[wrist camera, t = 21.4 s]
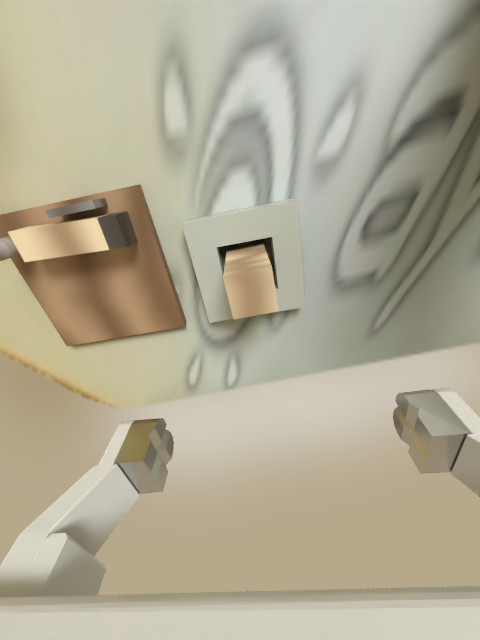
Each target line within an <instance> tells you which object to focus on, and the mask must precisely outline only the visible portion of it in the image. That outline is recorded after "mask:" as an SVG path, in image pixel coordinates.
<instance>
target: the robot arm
mask: <svg viewBox="0 0 480 640" xmlns="http://www.w3.org/2000/svg"><path fill="white" fill-rule="evenodd" d="M396 402H397V404H398V407H397V408H396V409H395V410H394V415H393V420H394V425H395V428H396V430H397V433H398V434H399V436H400V438H401V440H403V441H404V442H406V443H407V444H409V445H410V448H409V454H410V456H411V458H412V459H413V461H414V463H415V465H416V466H417V468H418V470H419V472H420V473H437V472H438V473H440V472H451V474H452V475H453V476H454V477H456V478H457V479H458V480H460V481H461V482H462V483H463V484H464V485H466V486H467V487H468V488H469V489H471V490H472V491H473V492H474V493H476V494H477V495H478V496H479V497H480V418H479V417H478V416H477V415H476V413H475V412H474V411H473V410H472V409H471V408H470V407H469V406H468V405H467V404H466V403H465V402H464V401H463V400H462V398H461V397H460V396H459V395H458V394H457V393H456V392H455V391H454V390H452V389H451V388H443V389H433V390H422V391H414V392H405V393H399V394H398V395H397V397H396ZM165 427H166V423H165V421H164V419H163V418H161V419H148V420H135V421H125V422H124V421H123V422H121V423H120V424H119V425H118V427H117V429H116V431H115V433H114V435H113V437H112V439H111V441H110V443H109V445H108V447H107V449H106V451H105V453H104V455H103V457H102V459H101V461H100V463H99V465H98V466H94V467H93V468H91V469H90V470H89V471H88V472H87V473H86V474H85V475H84V476H83V477H82V478H80V479H79V480H78V481H77V482H76V483H75V484H74V485H73V486H72V487H71V488H70V489H68V490H67V491H66V492H65V493H64V494H63V495H62V496H61V497H60V498H59V499H58V500H56V501H55V502H54V503H53V504H52V505H51V506H50V507H49V508H48V509H47V510H46V511H44V512H43V513H42V514H41V515H40V516H39V517H38V518H37V519H36V520H35V521H34V522H33V523H31V524H30V525H29V526H28V527H27V528H26V529H25V530H24V531H23V532H21V534H20V535H19V537H18V538H17V540H16V541H15V543H14V545H13V546H12V548H11V549H10V551H9V553H8V554H7V556H6V558H5V559H4V561H3V562H2V564H1V566H0V640H480V586H456V587H414V588H372V589H332V590H330V589H329V590H287V591H245V592H206V593H205V592H203V593H160V594H118V595H98V592H99V589H100V586H101V582H102V580H103V577H104V574H105V571H106V569H105V566H104V564H102V563H101V562H100V561H99V560H98V559H96V558H95V557H94V556H95V555H96V553H97V552H98V551H99V549H100V548H101V547H102V545H103V544H104V543H105V541H106V540H107V539H108V537H109V536H110V534H111V533H112V532H113V530H114V529H115V528H116V526H117V525H118V524H119V522H120V521H121V519H122V518H123V517H124V516H125V514H126V513H127V512H128V510H129V509H130V508H131V506H132V505H133V504H134V502H135V501H136V499H137V498H138V497H139V494H142V493H152V492H162V491H163V488H164V485H165V481H166V477H167V473H168V470H167V468H166V464H167V463H168V462H169V461H170V460H171V458H172V454H173V444H174V442H173V437H172V435H171V433H170V432H169V431H168V430H166V429H165Z"/></svg>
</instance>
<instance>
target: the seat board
mask: <svg viewBox="0 0 480 640" xmlns="http://www.w3.org/2000/svg"><path fill="white" fill-rule="evenodd" d="M124 211H128V214H129V217H130V220H131V223H132V226H133V230H134V233H135V236H136V239H137V241H135V242H134V243H132V244H131V245H129V246H128V247H125V248H118V249H111V250H105V251H98V252H91V253H84V254H77V255H70V256H64V257H57V258H50V259H43V260H36V261H30V262H24V260H23V258H22V257H21V255H20V253H19V251H18V250H17V248H16V246H15V244H14V243H13V241H12V239H11V237H10V236H9V234H8V232H9V231H13V230H17V229H21V228H25V227H29V226H34V225H41V224H47V223H54V222H60V221H67V220H73V219H79V218H86V217H92V216H99V215H105V214H111V213H118V212H124ZM8 258H11V259H12V261H13V262H14V264H15V266H16V267H17V269H18V270H19V272H20V273H21V275H22V277H23V278H24V280H25V281H26V283H27V284H28V286H29V288H30V289H31V291H32V292H33V294H34V295H35V297H36V298H37V300H38V302H39V303H40V305H41V306H42V308H43V309H44V311H45V313H46V314H47V316H48V317H49V319H50V320H51V322H52V324H53V325H54V327H55V328H56V330H57V331H58V333H59V335H60V336H61V338H62V339H63V341H64V342H65V344H66V345H67V346H71V345H77V344H83V343H89V342H95V341H101V340H107V339H113V338H119V337H125V336H131V335H137V334H143V333H149V332H155V331H161V330H168V329H174V328H180V327H185V325H186V319H185V316H184V313H183V310H182V307H181V304H180V301H179V298H178V295H177V292H176V289H175V286H174V283H173V280H172V277H171V274H170V271H169V268H168V265H167V262H166V259H165V256H164V253H163V250H162V247H161V244H160V241H159V238H158V235H157V232H156V229H155V226H154V224H153V221H152V218H151V215H150V212H149V209H148V206H147V203H146V200H145V197H144V194H143V191H142V188H141V185H136V186H131V187H126V188H122V189H117V190H113V191H108V192H103V193H99V194H94V195H90V196H85V197H80V198H76V199H71V200H67V201H62V202H57V203H53V204H48V205H44V206H39V207H34V208H30V209H25V210H21V211H16V212H11V213H7V214H2V215H0V261H2V260H5V259H8Z"/></svg>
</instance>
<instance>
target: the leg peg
mask: <svg viewBox="0 0 480 640" xmlns="http://www.w3.org/2000/svg"><path fill="white" fill-rule="evenodd" d="M223 280H224V284H225V288H226V292H227V296H228V299H229V303H230V307H231V311H232V315H233V319H234V320H235V319H240V318H246V317H251V316H256V315H262V314H267V313H273V312H278V311H279V310H278V304H277V297H276V290H275V284H274V277H273V270H272V266H271V263H270V260H269V258H268V255H267V252H266V249H265V246H264V242H263V241H258V242H253V243H248V244H244V245H239V246H234V247H229V248H226V260H225V267H224V274H223Z"/></svg>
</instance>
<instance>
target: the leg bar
mask: <svg viewBox="0 0 480 640" xmlns="http://www.w3.org/2000/svg"><path fill="white" fill-rule="evenodd" d="M8 234H9V236H10V237H11V239H12V241H13V243H14V244H15V246H16V248H17V250H18V251H19V253H20V255H21V257H22V258H23V260H24V262H30V261H36V260H43V259H50V258H57V257H64V256H70V255H77V254H84V253H91V252H98V251H105V250H111V249H118V248H125V247H128V246H129V245H131V244H132V243H134V242H135V241H137V239H136V236H135V233H134V230H133V226H132V223H131V220H130V217H129V214H128V211H124V212H118V213H111V214H105V215H99V216H92V217H86V218H79V219H73V220H67V221H60V222H54V223H47V224H41V225H34V226H29V227H25V228H21V229H17V230H13V231H9V232H8Z"/></svg>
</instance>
